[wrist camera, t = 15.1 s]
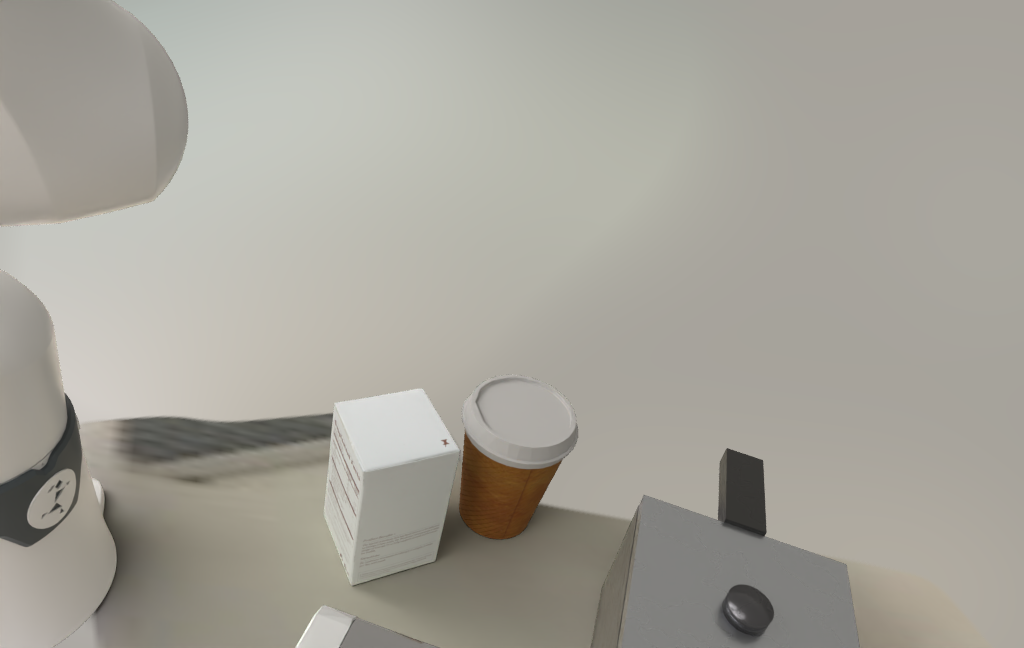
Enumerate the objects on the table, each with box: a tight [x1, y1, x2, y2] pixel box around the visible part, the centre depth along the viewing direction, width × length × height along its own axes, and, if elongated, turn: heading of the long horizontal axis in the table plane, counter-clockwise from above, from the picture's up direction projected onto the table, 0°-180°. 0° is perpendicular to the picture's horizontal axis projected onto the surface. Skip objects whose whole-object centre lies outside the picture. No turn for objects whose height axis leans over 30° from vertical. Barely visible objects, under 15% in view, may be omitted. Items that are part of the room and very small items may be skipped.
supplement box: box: [324, 388, 460, 585], centre depth 57 cm, size 7×7×13 cm
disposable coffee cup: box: [459, 375, 578, 539], centre depth 63 cm, size 10×10×12 cm
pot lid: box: [617, 448, 860, 648], centre depth 51 cm, size 15×23×2 cm, turn 165°
